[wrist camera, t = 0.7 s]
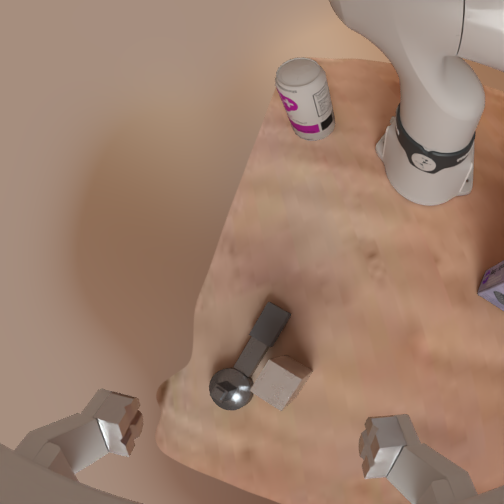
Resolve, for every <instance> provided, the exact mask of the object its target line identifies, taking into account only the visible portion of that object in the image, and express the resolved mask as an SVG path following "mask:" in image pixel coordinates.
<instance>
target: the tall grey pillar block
mask: <svg viewBox="0 0 504 504" xmlns="http://www.w3.org/2000/svg"><path fill="white" fill-rule="evenodd" d="M312 372H313V371H312V370H310V369H309V368H307V367H305V366H304V365H302V364H300V363H299V362H297V361H295V360H293V359H292V358H290V357H288V356H287V355H284V356H281V357H277V358H273V359H269V360H268V362H267V363H266V365H265V367H264V368H263V370H262V372H261V373H260V375H259V376H258V378H257V380H256V381H255V383H254V384H253V386H252V387H251V389H250V391H251V392H252V393H254V394H255V395H257V396H258V397H260V398H261V399H263V400H265V401H266V402H268V403H269V404H271V405H272V406H274V407H276V408H277V409H279V410H280V411H282V410H283V409H284V408H285V407H286V406H288V405H289V404H290V403H291V402H292V401H293V400H294V399H295V398H296V397H297V395H298V394H299V392H300V391H301V389H302V388H303V386H304V385H305V383H306V382H307V380H308V378H309V377H310V375H311V374H312Z"/></svg>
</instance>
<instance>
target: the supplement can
mask: <svg viewBox="0 0 504 504" xmlns="http://www.w3.org/2000/svg"><path fill="white" fill-rule="evenodd" d="M275 85H276V88H277V90H278V93H279V95H280V97H281V100H282V102H283V105H284V107H285V110H286V112H287V115H288V117H289V120H290V122H291V125H292V128H293V130H294V132H295V134H296V135H298V136H299V137H300V138H302V139H305V140H308V141H317V140H320V139H324V138H325V137H327V136H328V135H330V134H331V132H332V131H333V130H334V127H335V118H334V112H333V107H332V102H331V97H330V93H329V88H328V83H327V79H326V74H325V71H324V70H323V69H322V67H321V66H320V65H318V63H317V62H316V61H314V60H312V59H309V58H304V57H303V58H294V59H290V60H288V61H286V62H284V63H283V64H282V65H281V66H280V67H279V68H278V70H277V72H276V78H275Z"/></svg>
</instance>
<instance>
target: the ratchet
mask: <svg viewBox="0 0 504 504" xmlns="http://www.w3.org/2000/svg"><path fill="white" fill-rule="evenodd" d="M290 316H291V314H290V313H288V312H287V311H285V310H283V309H281V308H280V307H278V306H276V305H274V304H273V303H271V302H268V303H267V305H266V306H265V308H264V310H263V312H262V313H261V315H260V317H259V318H258V320H257V322H256V324H255V325H254V327H253V329H252V330H251V332H250V334H249V335H251V336H252V337H251V338H250V340H249V342H248V343H247V345H246V347H245V348H244V350H243V352H242V354H241V355H240V357H239V359H238V360H237V362H236V364H235V365H234V368H227V369H223V370H220V371H218V372H217V373H216V374H215V375H214V376H213V377H212V379H211V381H210V385H209V391H210V396H211V397H212V399H213V401H214V402H215V403H216V404H217V405H218V406H219V407H221V408H223V409H226V410H237V409H239V408H241V407H243V406H245V405H246V404H248V403H249V402H250V400H251V399H252V397H253V393H252V392H251V391H250V389H251V387H252V386H253V382H252V379H251V378H250V377H251V376H252V375H253V373H254V371H255V370H256V368H257V367H258V365H259V363H260V362H261V360H262V358H263V357H264V355H265V353H266V352H267V350H268V348H269V347H273V345H274V343H275V342H276V340H277V338H278V336H279V335H280V333H281V331H282V330H283V328H284V326H285V325H286V323H287V321H288V319H289V318H290Z"/></svg>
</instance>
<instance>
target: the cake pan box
mask: <svg viewBox="0 0 504 504" xmlns="http://www.w3.org/2000/svg"><path fill="white" fill-rule="evenodd" d="M477 294H478V295H479V296H481V297H483V298H484V299H486V300H488V301H489V302H491V303H492V304H494V305H495V306H497V307H498V308H500V309H501V310H503V311H504V260H503V261H502V262H500V263H498V264H497V265H495V266H493V267H492V268H490V269H488V270H486V272H485V274H484V277H483V279H482V282H481V285H480V287H479V290H478V293H477Z"/></svg>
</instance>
